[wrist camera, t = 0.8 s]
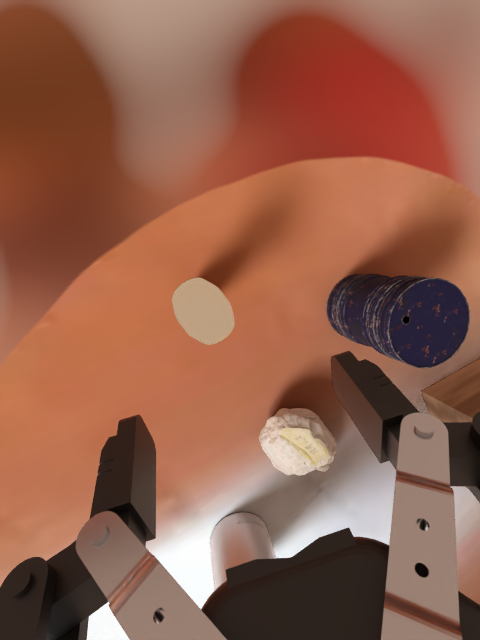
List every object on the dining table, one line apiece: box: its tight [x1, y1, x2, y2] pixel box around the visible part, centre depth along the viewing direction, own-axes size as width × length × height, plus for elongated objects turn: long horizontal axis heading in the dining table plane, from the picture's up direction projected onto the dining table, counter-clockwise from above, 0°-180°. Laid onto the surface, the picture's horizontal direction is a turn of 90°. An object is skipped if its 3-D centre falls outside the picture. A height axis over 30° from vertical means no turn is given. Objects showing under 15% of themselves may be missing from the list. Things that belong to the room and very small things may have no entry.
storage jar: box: [327, 274, 470, 368], centre depth 43 cm, size 10×10×15 cm
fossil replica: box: [259, 408, 336, 476], centre depth 47 cm, size 12×8×10 cm
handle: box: [172, 277, 235, 345], centre depth 38 cm, size 5×6×15 cm
